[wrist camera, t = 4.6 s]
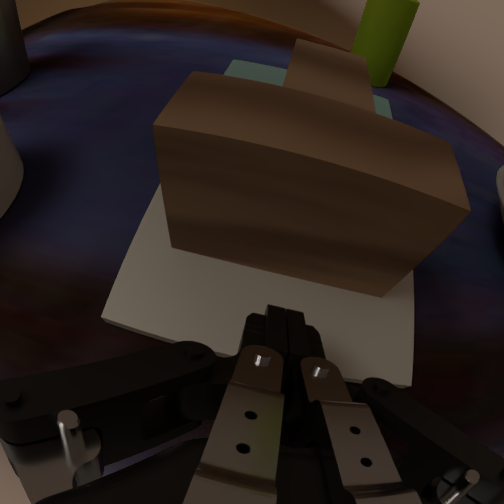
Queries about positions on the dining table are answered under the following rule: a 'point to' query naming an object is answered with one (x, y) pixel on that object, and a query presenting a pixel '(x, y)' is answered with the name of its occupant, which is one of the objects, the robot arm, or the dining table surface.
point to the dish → (501, 189)
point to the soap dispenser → (383, 36)
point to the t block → (305, 175)
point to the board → (257, 294)
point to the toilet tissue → (8, 169)
